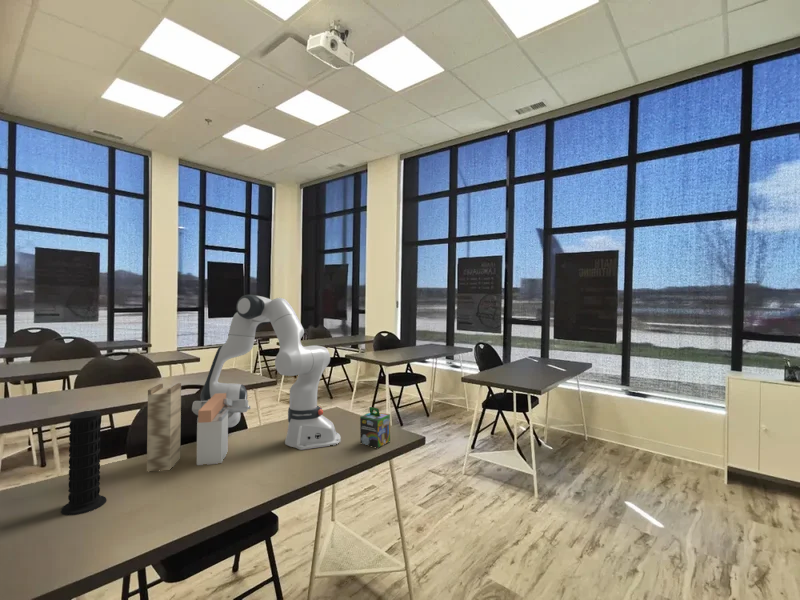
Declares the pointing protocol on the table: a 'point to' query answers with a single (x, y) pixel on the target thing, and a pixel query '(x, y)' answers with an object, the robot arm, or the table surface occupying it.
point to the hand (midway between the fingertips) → (217, 400)
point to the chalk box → (375, 428)
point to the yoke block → (212, 440)
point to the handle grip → (84, 464)
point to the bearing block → (163, 427)
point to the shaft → (211, 408)
